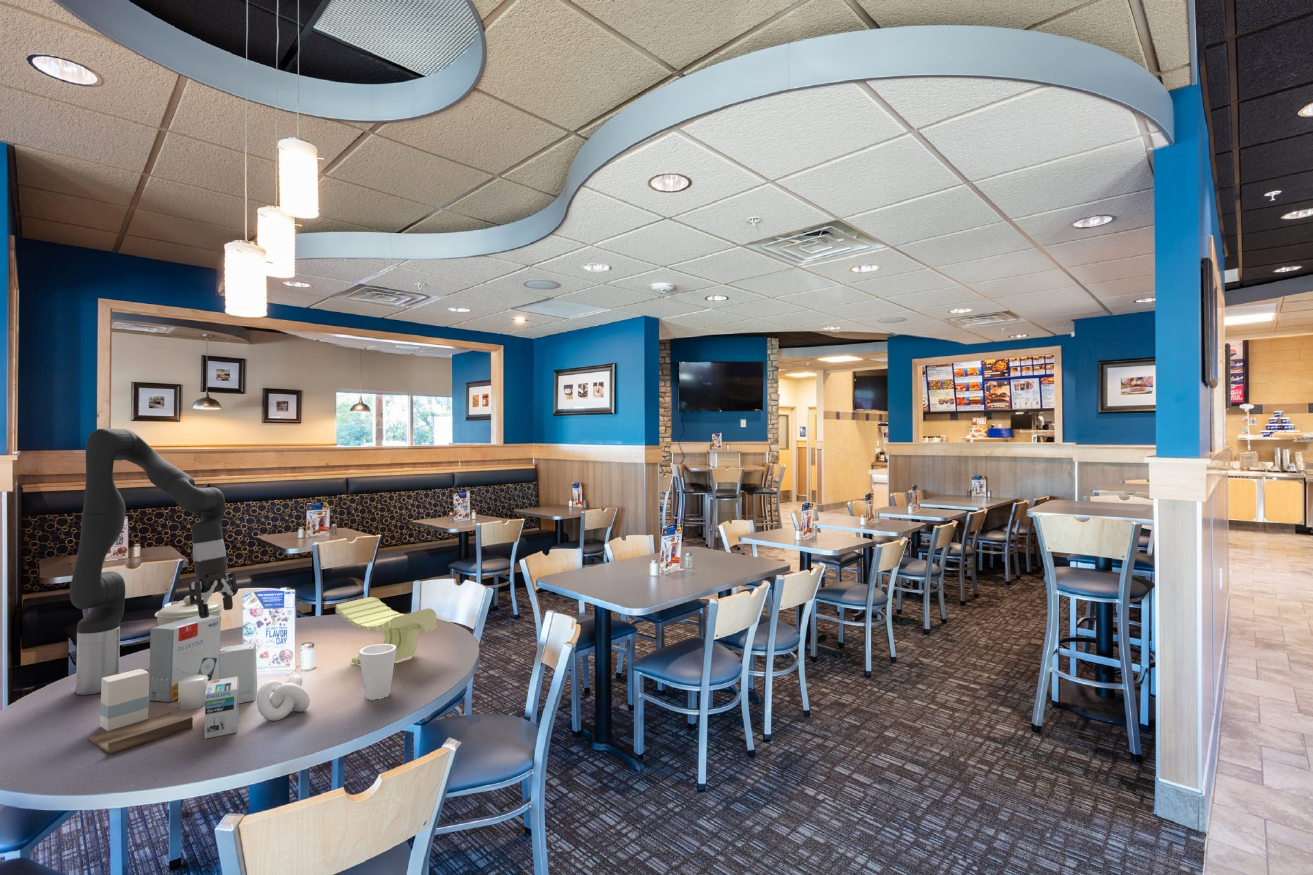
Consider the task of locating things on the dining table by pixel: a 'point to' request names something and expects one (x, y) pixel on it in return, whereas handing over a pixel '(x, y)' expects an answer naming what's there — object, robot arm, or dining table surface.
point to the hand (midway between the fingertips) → (216, 613)
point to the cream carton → (124, 699)
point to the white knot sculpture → (282, 698)
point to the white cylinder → (192, 692)
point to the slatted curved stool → (388, 623)
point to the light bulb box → (221, 707)
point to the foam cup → (377, 669)
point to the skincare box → (240, 668)
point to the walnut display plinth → (140, 732)
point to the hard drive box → (182, 654)
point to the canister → (185, 611)
